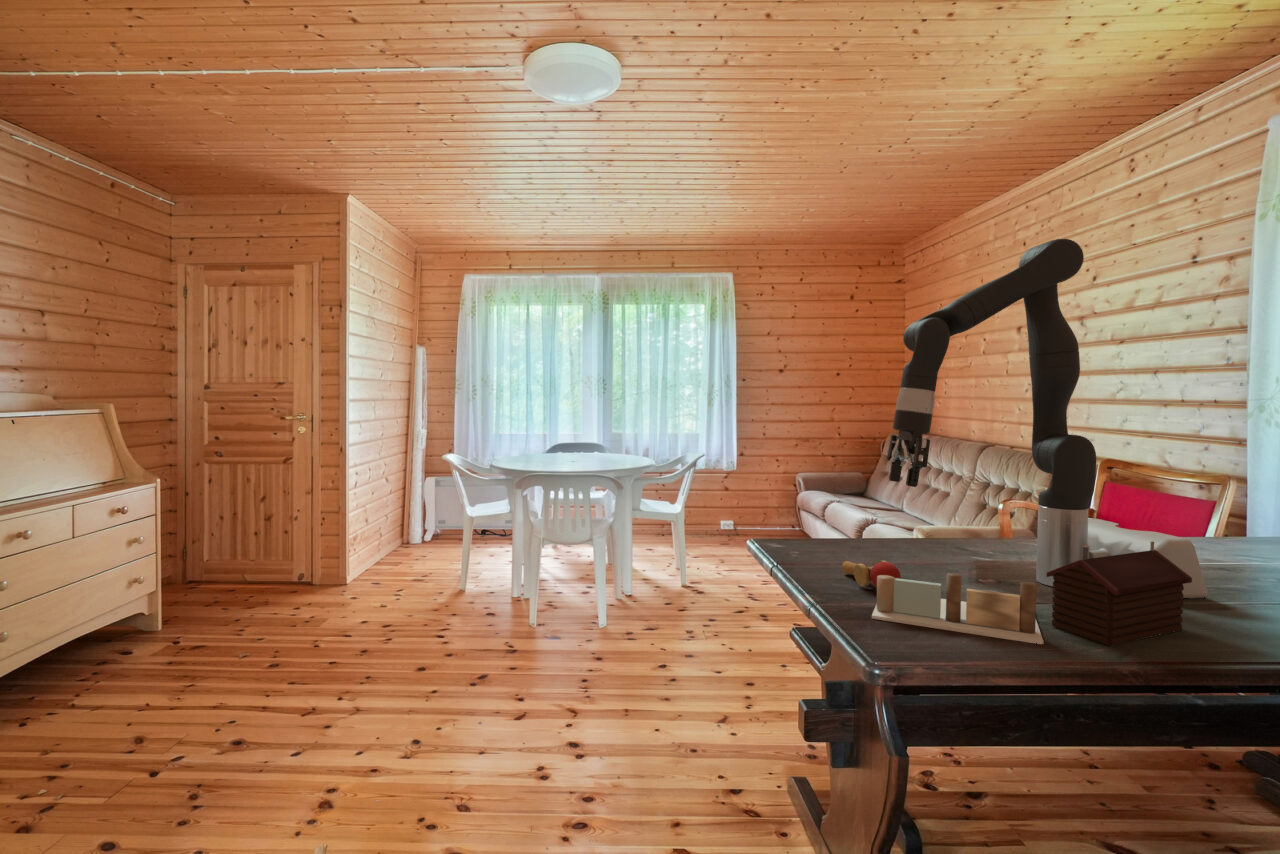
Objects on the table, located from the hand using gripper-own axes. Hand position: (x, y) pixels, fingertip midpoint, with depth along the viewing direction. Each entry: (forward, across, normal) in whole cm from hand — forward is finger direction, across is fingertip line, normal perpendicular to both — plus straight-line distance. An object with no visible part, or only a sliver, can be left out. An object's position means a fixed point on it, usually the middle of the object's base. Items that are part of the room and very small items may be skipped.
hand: (902, 483), depth 137 cm
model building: (+19, -27, -30) cm, 44 cm away
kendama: (+23, 0, +4) cm, 23 cm away
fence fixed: (+22, -27, -7) cm, 35 cm away
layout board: (+22, -20, -4) cm, 30 cm away
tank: (+15, +1, -53) cm, 55 cm away
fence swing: (+22, -20, +5) cm, 31 cm away
